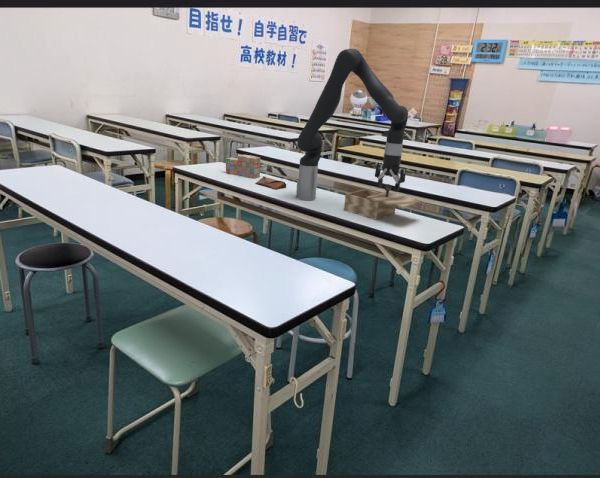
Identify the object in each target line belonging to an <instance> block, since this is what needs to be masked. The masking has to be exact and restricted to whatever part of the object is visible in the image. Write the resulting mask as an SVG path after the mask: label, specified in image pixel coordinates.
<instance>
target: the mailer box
mask: <svg viewBox="0 0 600 478" xmlns="http://www.w3.org/2000/svg"><path fill="white" fill-rule="evenodd" d="M380 193H381V192H378V191H374V190H370V189H365V188H364V189H359V190H357V191H351V192H347V193H345V196H344V205H343V211H344V212H348V213H352V214H355V215H358V216H362V217H365V218H368V219H372V220H374V221H376V220H379V219H383V218H385V217H388V216H392V215H395V214H396V208H397V207H394V206H391V205H387V204H383V203H379V202H376V201H372V200H368V199H366V198H367V197H368V196H372V195H376V194H380Z"/></svg>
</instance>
